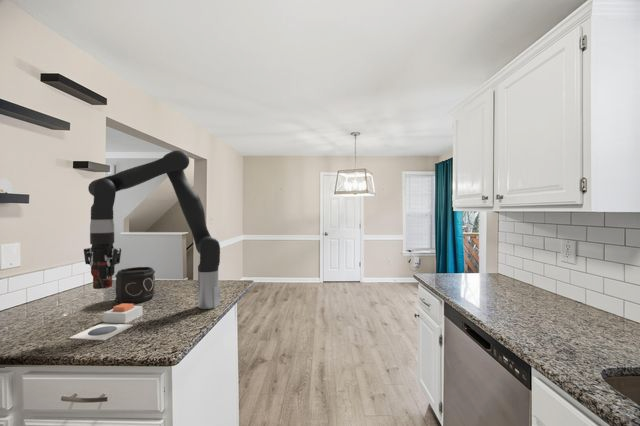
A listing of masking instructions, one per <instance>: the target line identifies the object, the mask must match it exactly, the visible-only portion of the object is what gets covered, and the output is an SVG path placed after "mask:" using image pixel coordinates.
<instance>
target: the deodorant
mask: <svg viewBox="0 0 640 426" xmlns="http://www.w3.org/2000/svg"><path fill="white" fill-rule="evenodd" d="M92 253H93V276H92V288H93V289H95V290H100V289H101V290H102V289H108V288H112V287H113V276H107V267H108V265H107V262H106V261H105V255H106V256H107V257H108V258H110V257H112V254H110V253H109V255H107V248H93V252H92ZM110 262H111V260H110Z"/></svg>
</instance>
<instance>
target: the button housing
mask: <svg viewBox="0 0 640 426" xmlns="http://www.w3.org/2000/svg"><path fill="white" fill-rule="evenodd" d="M143 308H144V307H143V305H134V308H133V309H130V310H128V311H126V312H115V311H113V308H112V309H110V310H107V311H104V312H103V313H102V314H103V315H102V316H103V318H102V319H103V321H102V322H103V323H105V324H127V323H129V322H131V321H133V320H136V319H137V318H139V317H142V316H143V315H144V314H143Z"/></svg>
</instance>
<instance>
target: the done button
mask: <svg viewBox="0 0 640 426" xmlns="http://www.w3.org/2000/svg"><path fill="white" fill-rule="evenodd" d="M134 306H135V304H127V303H122V304H121V303H119V304H118V305H114V306H113V308H112V309H113V311H115V312H126V311H128V310H130V309H133V308H134Z"/></svg>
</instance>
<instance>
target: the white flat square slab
mask: <svg viewBox="0 0 640 426" xmlns="http://www.w3.org/2000/svg"><path fill="white" fill-rule="evenodd" d="M132 327H134V324H127V323H105V322H103V323H99V324H97V325H95V326H92V327H90V328H87V329H86V330H83V331H81V332H78V333H76V334H74V335H72V336H70V337H68V339H71V340H89V341H106V340H109V339H110V338H111V337H115V336H117V335H118V334H120V333H122V332H124V331H125V330H128V329H130V328H132Z"/></svg>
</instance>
